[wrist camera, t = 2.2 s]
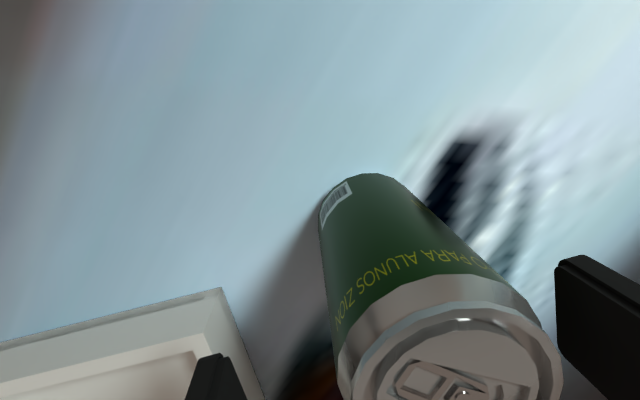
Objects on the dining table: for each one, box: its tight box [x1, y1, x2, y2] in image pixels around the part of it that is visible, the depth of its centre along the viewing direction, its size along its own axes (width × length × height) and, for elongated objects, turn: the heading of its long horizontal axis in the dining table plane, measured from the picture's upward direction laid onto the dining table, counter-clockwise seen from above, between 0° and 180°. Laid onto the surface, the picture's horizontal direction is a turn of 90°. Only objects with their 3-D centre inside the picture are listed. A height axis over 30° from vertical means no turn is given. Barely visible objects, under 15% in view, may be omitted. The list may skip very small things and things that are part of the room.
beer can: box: [318, 173, 564, 400], centre depth 14 cm, size 5×5×12 cm
